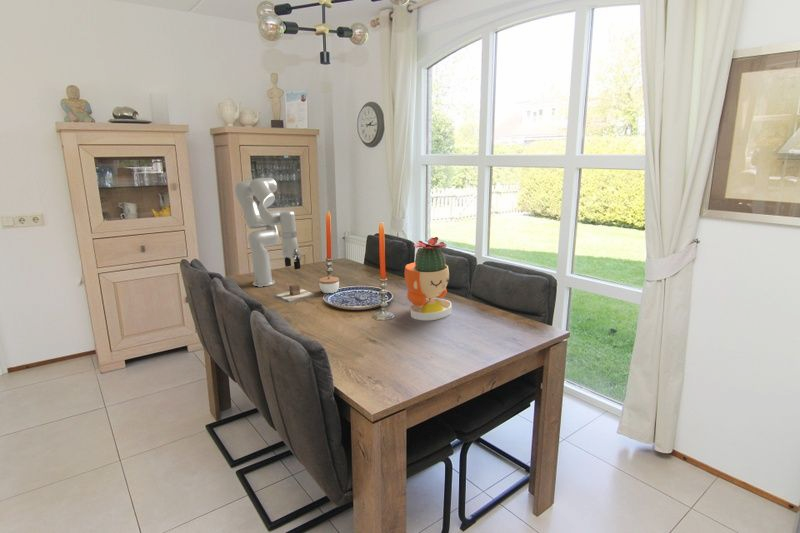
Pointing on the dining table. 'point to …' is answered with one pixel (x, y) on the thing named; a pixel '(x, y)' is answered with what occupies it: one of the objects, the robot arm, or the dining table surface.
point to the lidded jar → (329, 284)
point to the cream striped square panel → (295, 300)
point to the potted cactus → (428, 282)
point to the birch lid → (294, 293)
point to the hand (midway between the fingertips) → (292, 267)
